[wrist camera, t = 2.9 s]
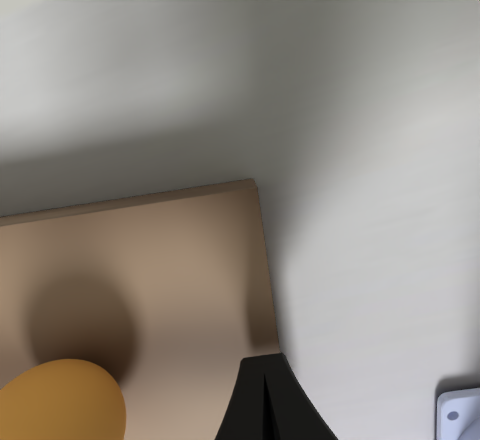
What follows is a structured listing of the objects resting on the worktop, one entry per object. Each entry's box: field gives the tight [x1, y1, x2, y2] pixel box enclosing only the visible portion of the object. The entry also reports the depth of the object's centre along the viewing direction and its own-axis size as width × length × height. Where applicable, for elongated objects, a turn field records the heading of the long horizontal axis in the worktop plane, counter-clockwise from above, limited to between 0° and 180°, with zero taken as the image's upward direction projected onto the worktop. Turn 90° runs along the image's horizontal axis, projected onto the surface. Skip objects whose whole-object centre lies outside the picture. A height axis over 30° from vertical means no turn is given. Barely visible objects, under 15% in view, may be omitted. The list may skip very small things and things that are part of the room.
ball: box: [0, 359, 126, 440], centre depth 9 cm, size 4×4×4 cm
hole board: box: [0, 178, 280, 440], centre depth 12 cm, size 12×20×2 cm, turn 99°
